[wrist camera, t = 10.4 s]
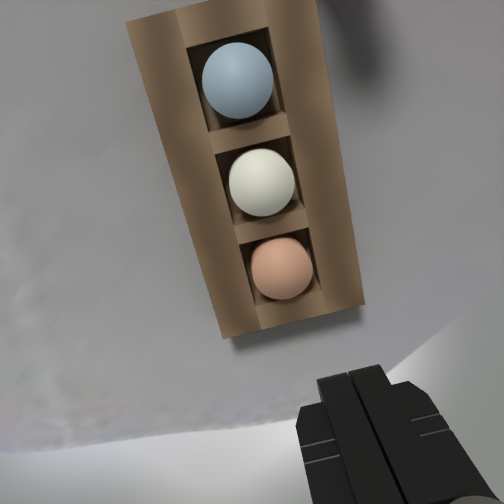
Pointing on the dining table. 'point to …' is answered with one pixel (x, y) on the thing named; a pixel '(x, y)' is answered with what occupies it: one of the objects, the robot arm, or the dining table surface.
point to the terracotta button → (280, 266)
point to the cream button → (260, 181)
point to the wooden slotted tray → (247, 135)
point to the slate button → (237, 80)
